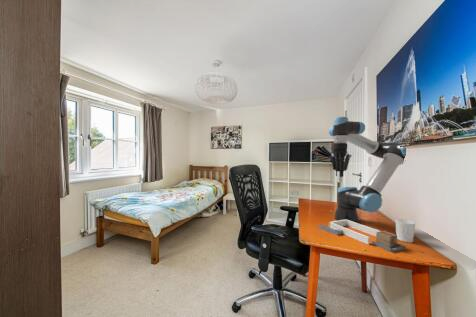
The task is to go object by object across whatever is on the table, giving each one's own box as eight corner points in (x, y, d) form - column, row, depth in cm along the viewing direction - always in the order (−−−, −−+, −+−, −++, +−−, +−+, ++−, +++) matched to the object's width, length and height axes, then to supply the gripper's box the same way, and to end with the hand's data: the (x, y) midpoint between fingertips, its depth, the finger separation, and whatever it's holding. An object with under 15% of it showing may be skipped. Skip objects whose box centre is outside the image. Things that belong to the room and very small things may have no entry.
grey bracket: (384, 240, 100) (384, 238, 100) (405, 248, 92) (405, 246, 92) (372, 244, 96) (372, 241, 96) (392, 252, 88) (392, 250, 88)
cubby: (346, 224, 123) (346, 219, 123) (386, 239, 101) (387, 233, 101) (328, 227, 117) (328, 222, 117) (367, 244, 95) (368, 237, 95)
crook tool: (323, 226, 119) (323, 223, 119) (342, 233, 109) (342, 230, 109) (318, 228, 116) (318, 225, 116) (337, 235, 106) (337, 231, 106)
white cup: (414, 240, 102) (415, 221, 102) (414, 244, 96) (414, 225, 96) (395, 235, 108) (396, 217, 107) (394, 239, 102) (394, 221, 102)
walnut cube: (383, 242, 99) (384, 230, 99) (397, 247, 93) (397, 235, 93) (376, 244, 96) (376, 232, 96) (389, 249, 91) (389, 237, 91)
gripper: (326, 143, 119) (325, 181, 119) (346, 142, 107) (345, 183, 108) (334, 143, 122) (333, 180, 123) (354, 142, 111) (353, 183, 111)
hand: (339, 182), depth 115 cm, fingers closed
